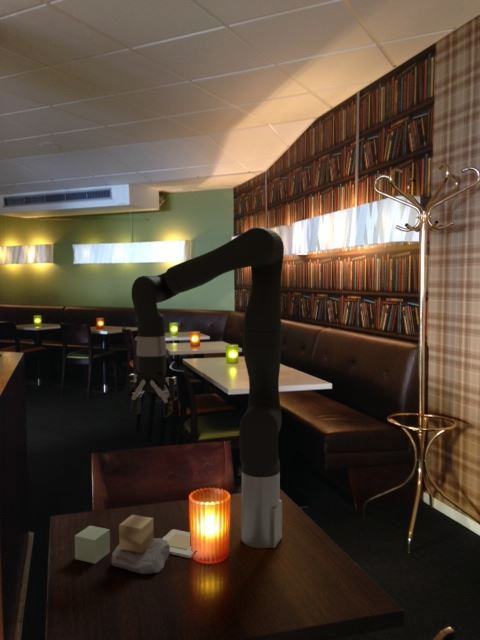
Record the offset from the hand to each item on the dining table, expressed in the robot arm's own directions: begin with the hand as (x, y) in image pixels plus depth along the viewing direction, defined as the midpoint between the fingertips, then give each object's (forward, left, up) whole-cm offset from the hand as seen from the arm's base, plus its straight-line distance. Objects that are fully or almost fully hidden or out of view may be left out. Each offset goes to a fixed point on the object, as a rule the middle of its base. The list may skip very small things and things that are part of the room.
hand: (152, 415), depth 137 cm
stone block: (-8, +20, -29) cm, 36 cm away
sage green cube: (+3, +21, -28) cm, 35 cm away
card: (-13, +9, -28) cm, 32 cm away
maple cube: (-7, +19, -25) cm, 32 cm away
